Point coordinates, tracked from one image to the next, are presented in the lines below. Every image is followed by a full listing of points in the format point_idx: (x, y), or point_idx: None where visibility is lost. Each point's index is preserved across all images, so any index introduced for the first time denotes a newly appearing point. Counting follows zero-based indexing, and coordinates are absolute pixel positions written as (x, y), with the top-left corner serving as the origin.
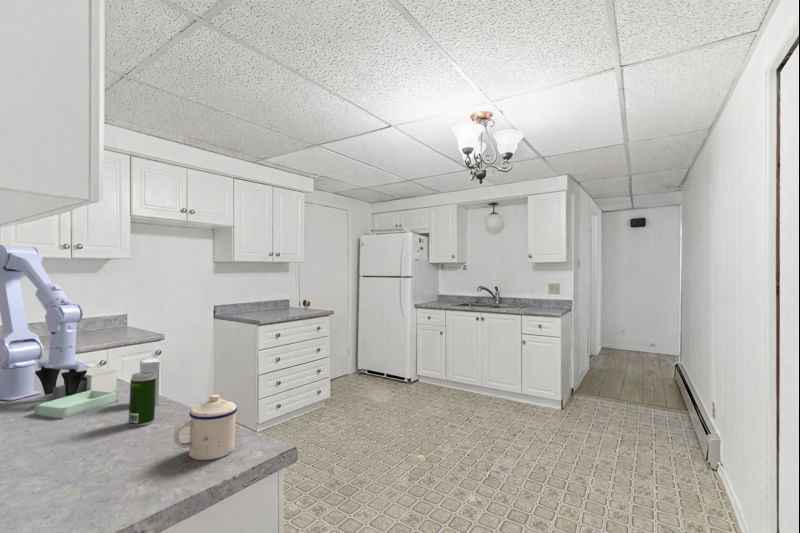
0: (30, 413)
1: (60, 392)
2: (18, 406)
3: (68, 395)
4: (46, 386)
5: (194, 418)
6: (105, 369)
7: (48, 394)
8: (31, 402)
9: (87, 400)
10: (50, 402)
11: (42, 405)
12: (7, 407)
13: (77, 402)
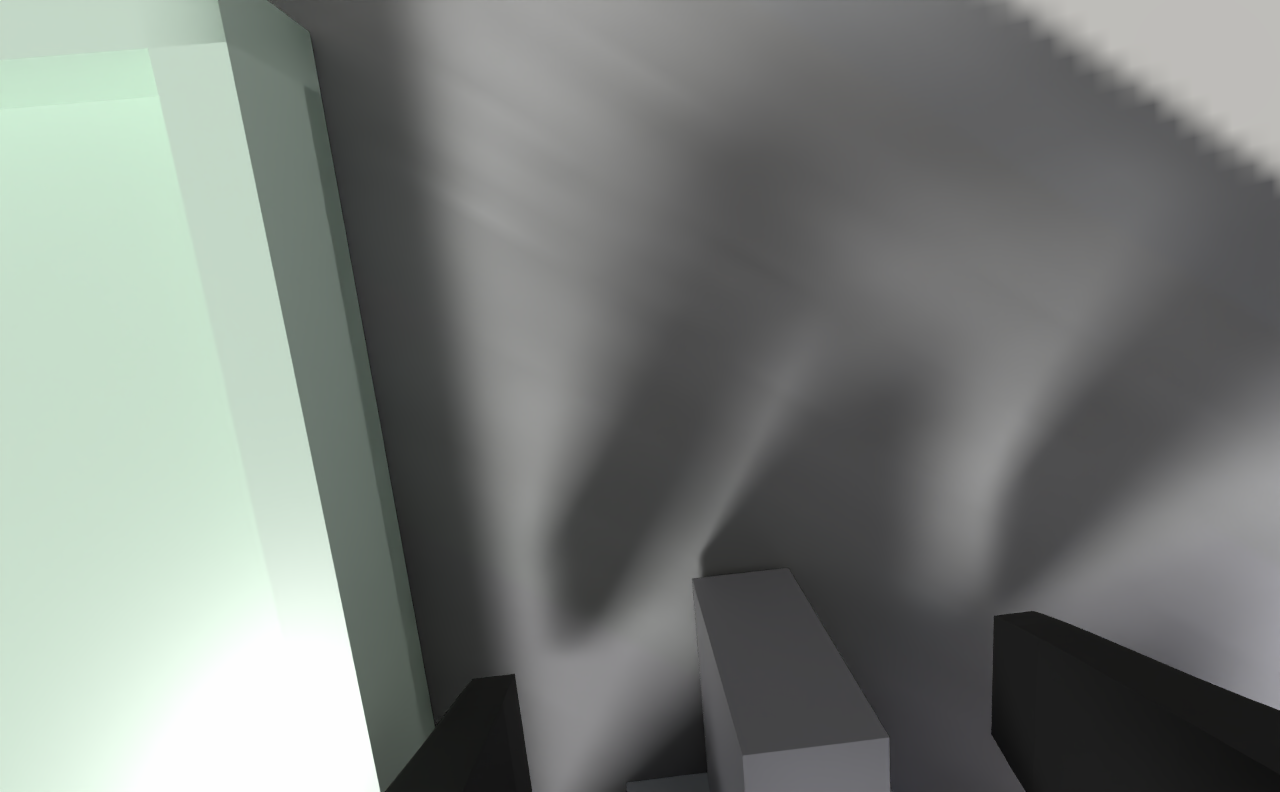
0: (486, 67)
1: (717, 723)
2: (1073, 234)
3: (454, 705)
4: (1128, 722)
5: None
6: None
7: (993, 645)
8: (1092, 441)
9: (261, 790)
10: (201, 261)
11: (30, 7)
12: (1187, 129)
13: (286, 668)
